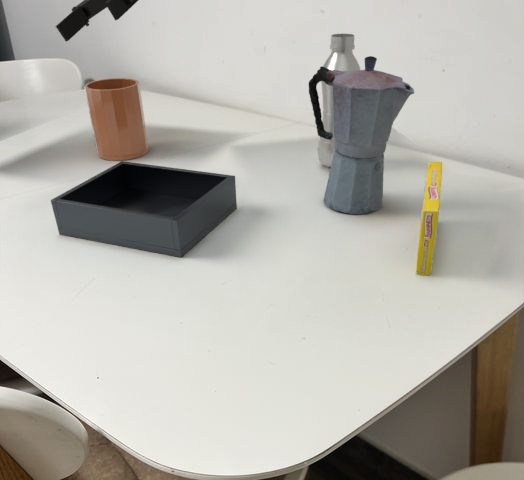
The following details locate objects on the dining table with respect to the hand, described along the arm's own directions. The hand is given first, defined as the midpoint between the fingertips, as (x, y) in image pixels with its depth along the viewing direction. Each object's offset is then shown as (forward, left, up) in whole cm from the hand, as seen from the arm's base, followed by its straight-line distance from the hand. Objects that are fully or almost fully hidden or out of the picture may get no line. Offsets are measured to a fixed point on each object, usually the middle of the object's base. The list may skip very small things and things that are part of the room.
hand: (85, 23), depth 94 cm
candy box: (+62, -18, -22) cm, 68 cm away
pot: (+2, +1, -21) cm, 22 cm away
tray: (+24, -24, -21) cm, 40 cm away
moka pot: (+49, -8, -22) cm, 54 cm away
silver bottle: (+42, +7, -22) cm, 48 cm away
